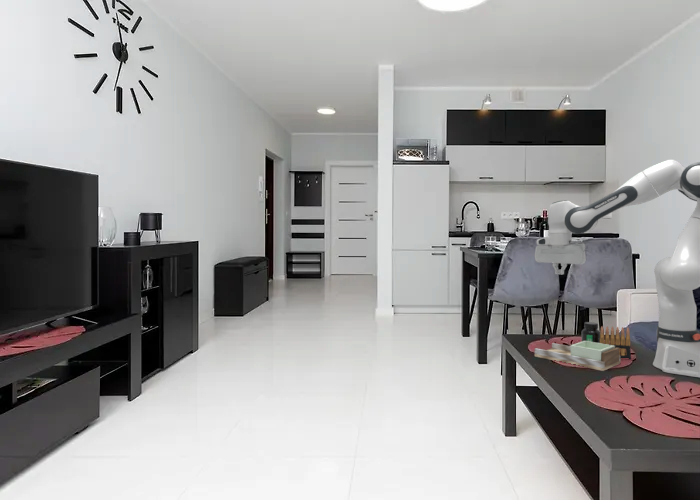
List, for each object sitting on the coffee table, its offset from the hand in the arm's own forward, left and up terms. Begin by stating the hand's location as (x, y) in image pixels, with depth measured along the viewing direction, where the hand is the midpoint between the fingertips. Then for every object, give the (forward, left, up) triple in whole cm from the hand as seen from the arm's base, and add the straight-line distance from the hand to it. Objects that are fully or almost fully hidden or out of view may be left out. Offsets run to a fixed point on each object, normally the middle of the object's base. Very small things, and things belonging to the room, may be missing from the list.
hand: (559, 274), depth 197 cm
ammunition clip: (-20, -4, -31) cm, 37 cm away
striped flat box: (-12, +10, -31) cm, 35 cm away
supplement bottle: (-11, -4, -31) cm, 33 cm away
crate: (-18, +10, -30) cm, 36 cm away
